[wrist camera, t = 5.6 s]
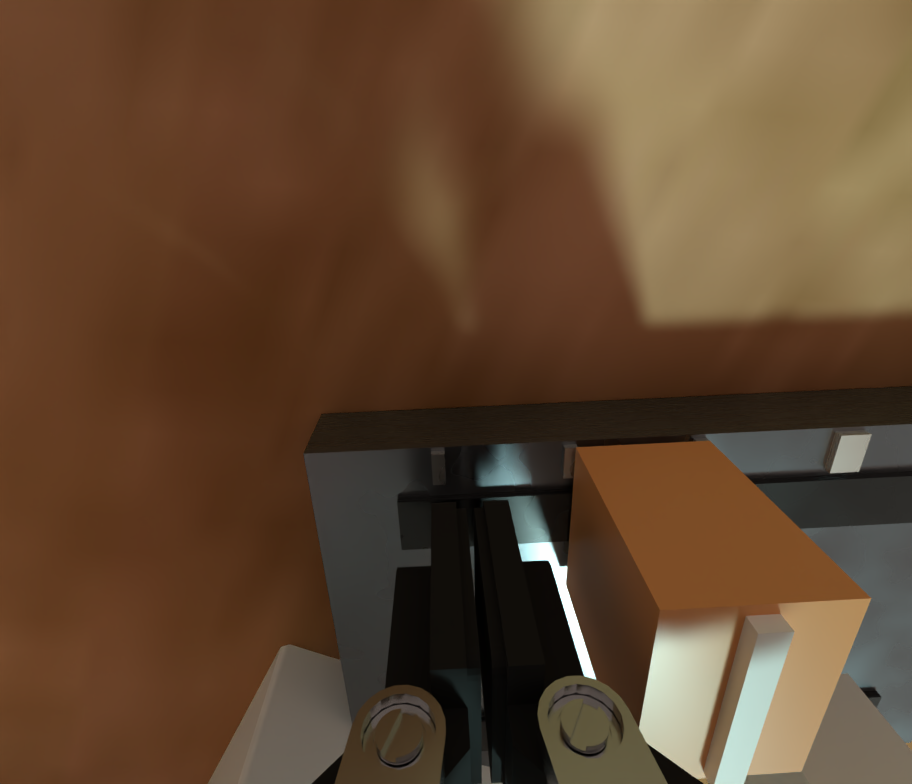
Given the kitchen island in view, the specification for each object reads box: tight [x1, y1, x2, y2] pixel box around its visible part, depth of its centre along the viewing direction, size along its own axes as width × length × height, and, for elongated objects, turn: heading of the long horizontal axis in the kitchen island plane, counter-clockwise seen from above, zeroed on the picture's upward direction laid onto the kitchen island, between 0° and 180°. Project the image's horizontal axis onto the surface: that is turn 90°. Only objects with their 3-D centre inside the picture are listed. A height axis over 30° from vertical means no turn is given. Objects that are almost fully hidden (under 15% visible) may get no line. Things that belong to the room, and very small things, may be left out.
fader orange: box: [566, 441, 871, 784], centre depth 10 cm, size 4×3×5 cm
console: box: [304, 386, 912, 767], centre depth 15 cm, size 12×18×2 cm, turn 92°
